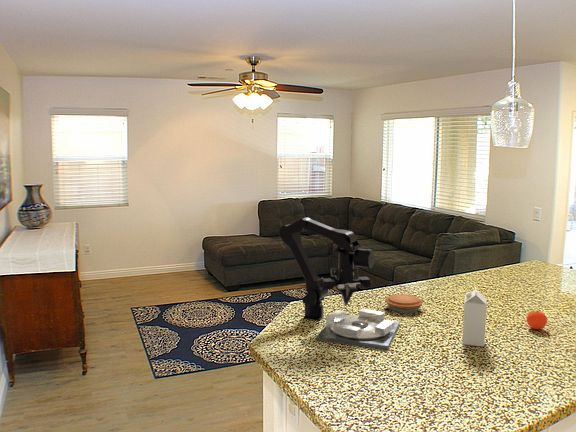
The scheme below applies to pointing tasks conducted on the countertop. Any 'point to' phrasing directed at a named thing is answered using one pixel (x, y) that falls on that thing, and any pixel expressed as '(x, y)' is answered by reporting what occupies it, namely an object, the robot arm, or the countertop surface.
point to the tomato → (536, 319)
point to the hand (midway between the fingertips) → (345, 304)
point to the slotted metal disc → (360, 324)
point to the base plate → (371, 343)
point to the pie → (404, 303)
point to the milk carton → (474, 319)
